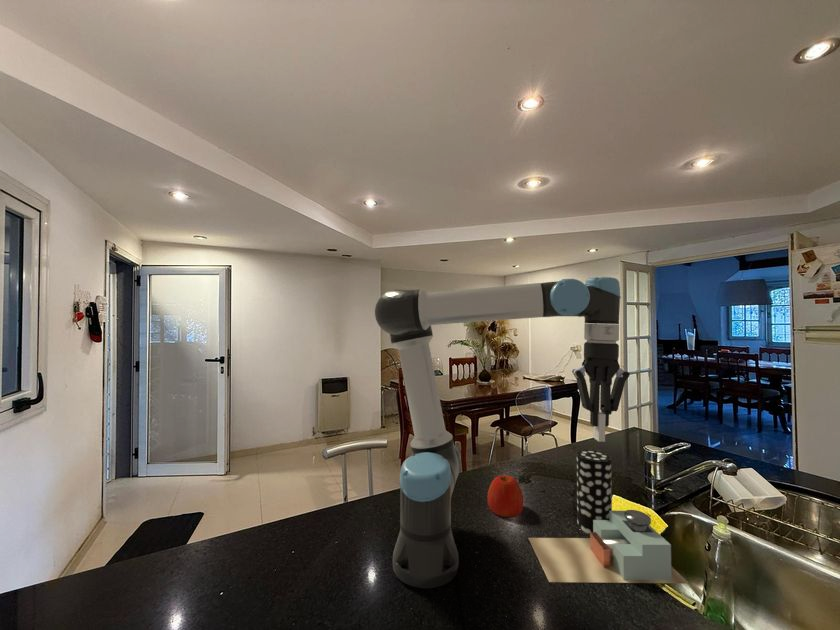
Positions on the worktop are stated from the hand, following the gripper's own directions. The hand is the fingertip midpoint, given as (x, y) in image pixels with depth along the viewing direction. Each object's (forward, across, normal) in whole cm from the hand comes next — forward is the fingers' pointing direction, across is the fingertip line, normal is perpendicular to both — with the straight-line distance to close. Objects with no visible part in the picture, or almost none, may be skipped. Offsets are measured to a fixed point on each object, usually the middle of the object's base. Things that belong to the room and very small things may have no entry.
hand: (599, 439), depth 85 cm
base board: (+27, -1, -3) cm, 27 cm away
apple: (+28, -18, +18) cm, 38 cm away
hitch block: (+26, +6, -3) cm, 27 cm away
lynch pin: (+26, +5, -3) cm, 27 cm away
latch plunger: (+22, +8, -3) cm, 24 cm away
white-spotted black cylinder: (+27, +4, +9) cm, 29 cm away
